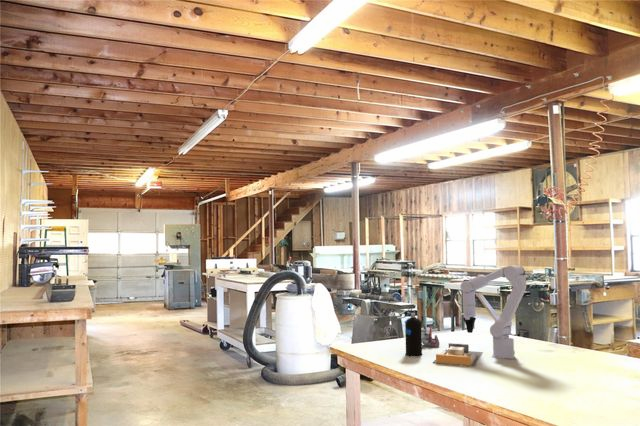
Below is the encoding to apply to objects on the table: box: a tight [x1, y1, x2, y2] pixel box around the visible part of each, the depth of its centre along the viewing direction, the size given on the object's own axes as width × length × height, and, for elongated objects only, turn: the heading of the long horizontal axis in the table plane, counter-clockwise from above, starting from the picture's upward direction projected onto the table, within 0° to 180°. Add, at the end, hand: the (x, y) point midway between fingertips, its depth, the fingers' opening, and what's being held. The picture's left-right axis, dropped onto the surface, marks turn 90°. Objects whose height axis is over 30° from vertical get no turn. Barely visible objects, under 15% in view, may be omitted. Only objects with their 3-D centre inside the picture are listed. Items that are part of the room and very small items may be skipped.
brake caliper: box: [421, 324, 440, 348], centre depth 263 cm, size 11×11×12 cm
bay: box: [432, 348, 484, 368], centre depth 235 cm, size 18×31×4 cm, turn 155°
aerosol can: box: [404, 312, 424, 357], centre depth 242 cm, size 8×8×20 cm
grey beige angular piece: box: [446, 342, 470, 356], centre depth 230 cm, size 9×12×6 cm
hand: (470, 332), depth 248 cm, fingers closed
